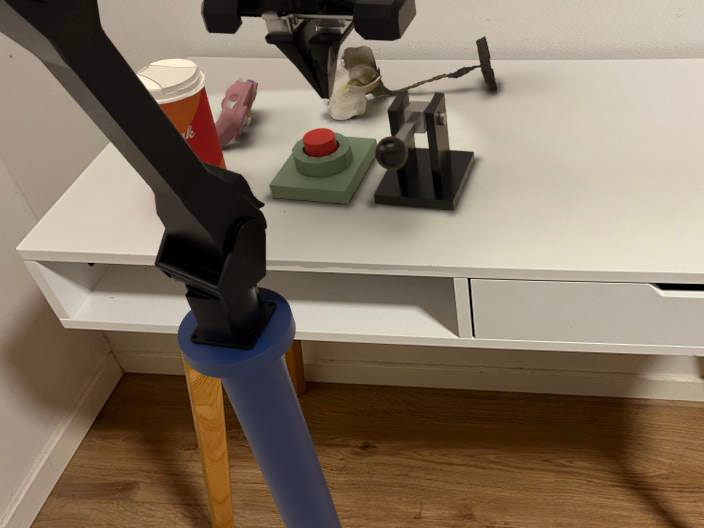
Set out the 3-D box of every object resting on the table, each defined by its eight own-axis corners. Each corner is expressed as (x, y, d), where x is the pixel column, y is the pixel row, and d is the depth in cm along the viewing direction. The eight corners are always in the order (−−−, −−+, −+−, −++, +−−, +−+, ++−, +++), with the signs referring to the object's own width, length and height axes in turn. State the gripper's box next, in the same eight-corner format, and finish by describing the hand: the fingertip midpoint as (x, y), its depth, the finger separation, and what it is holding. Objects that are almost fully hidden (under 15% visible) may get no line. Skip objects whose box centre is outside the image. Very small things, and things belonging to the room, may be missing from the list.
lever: (403, 177, 76) (400, 145, 74) (372, 174, 77) (368, 143, 75) (437, 127, 85) (435, 98, 83) (408, 125, 86) (406, 96, 84)
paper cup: (158, 199, 90) (109, 83, 80) (203, 164, 94) (162, 51, 84) (210, 215, 87) (166, 97, 77) (254, 179, 91) (218, 63, 81)
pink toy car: (238, 161, 97) (250, 113, 93) (201, 147, 96) (211, 99, 91) (256, 120, 104) (267, 74, 99) (221, 107, 103) (231, 60, 98)
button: (331, 159, 88) (328, 145, 86) (301, 157, 88) (297, 143, 87) (342, 142, 90) (339, 128, 89) (312, 140, 91) (309, 126, 89)
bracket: (453, 210, 85) (445, 128, 78) (374, 203, 87) (359, 123, 80) (474, 160, 92) (469, 80, 84) (401, 155, 93) (389, 76, 86)
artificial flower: (503, 111, 101) (493, 49, 93) (334, 145, 103) (308, 87, 94) (495, 63, 106) (484, -1, 97) (333, 96, 107) (308, 36, 99)
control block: (347, 204, 87) (341, 177, 84) (272, 197, 89) (264, 170, 86) (378, 151, 94) (373, 124, 92) (308, 145, 96) (302, 119, 93)
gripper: (422, -107, 69) (439, 63, 81) (230, -108, 73) (272, 55, 84) (384, -62, 62) (409, 119, 73) (172, -66, 66) (226, 107, 77)
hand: (327, 97), depth 77 cm, fingers closed
